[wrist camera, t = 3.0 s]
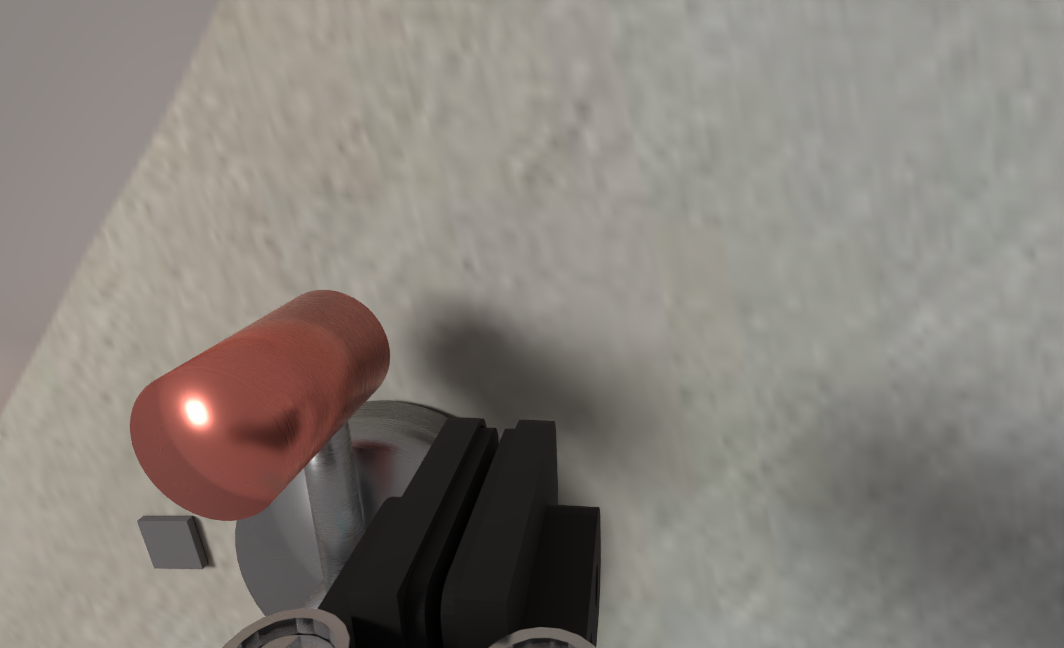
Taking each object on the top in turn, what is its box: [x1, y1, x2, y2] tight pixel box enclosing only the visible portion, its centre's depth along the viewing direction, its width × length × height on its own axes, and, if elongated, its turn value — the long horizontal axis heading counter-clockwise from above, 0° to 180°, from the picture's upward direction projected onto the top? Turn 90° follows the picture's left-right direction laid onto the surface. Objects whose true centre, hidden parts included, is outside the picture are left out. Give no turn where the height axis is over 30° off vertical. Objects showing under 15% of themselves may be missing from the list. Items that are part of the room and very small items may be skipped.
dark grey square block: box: [137, 516, 208, 569], centre depth 24 cm, size 2×2×1 cm
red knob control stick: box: [130, 290, 448, 617], centre depth 17 cm, size 12×8×8 cm, turn 2°
